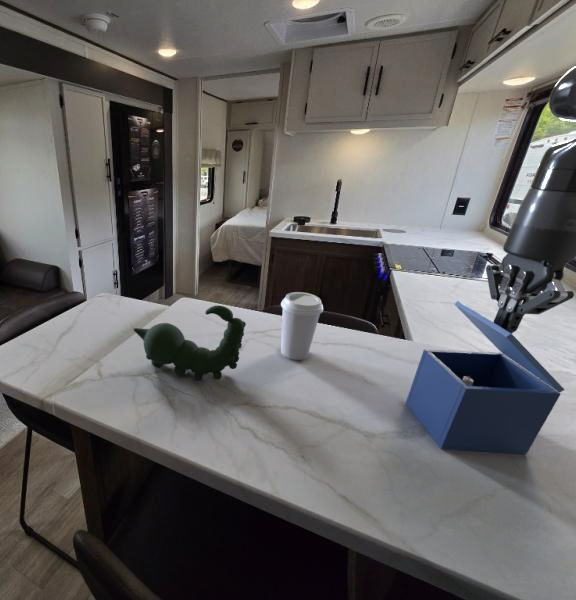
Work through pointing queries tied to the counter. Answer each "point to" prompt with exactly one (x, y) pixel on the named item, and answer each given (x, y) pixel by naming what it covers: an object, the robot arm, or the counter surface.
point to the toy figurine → (194, 347)
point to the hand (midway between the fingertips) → (502, 331)
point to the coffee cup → (299, 323)
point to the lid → (509, 345)
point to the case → (479, 401)
